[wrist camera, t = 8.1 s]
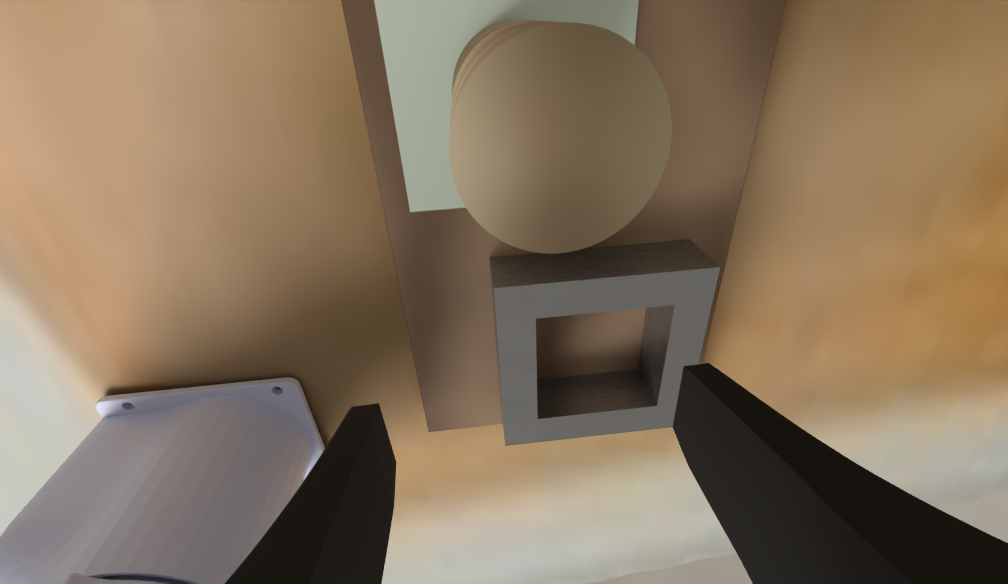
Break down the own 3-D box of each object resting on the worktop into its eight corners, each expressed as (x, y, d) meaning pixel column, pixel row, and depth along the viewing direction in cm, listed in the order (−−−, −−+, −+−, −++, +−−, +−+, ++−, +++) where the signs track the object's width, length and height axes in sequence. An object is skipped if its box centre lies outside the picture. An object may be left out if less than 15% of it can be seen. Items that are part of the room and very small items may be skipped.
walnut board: (430, 410, 24) (428, 431, 23) (333, -92, 13) (320, -103, 12) (680, 383, 25) (692, 402, 24) (782, -113, 14) (815, -126, 13)
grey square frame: (500, 405, 23) (505, 445, 20) (488, 257, 18) (493, 288, 16) (663, 388, 23) (684, 425, 21) (689, 238, 19) (720, 267, 17)
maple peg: (462, 158, 16) (466, 265, 9) (443, 27, 14) (429, 37, 7) (573, 144, 16) (661, 239, 9) (572, 12, 14) (684, 9, 7)
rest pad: (411, 209, 17) (410, 212, 17) (365, -59, 13) (363, -60, 12) (619, 191, 17) (621, 194, 17) (641, -73, 13) (645, -75, 13)
